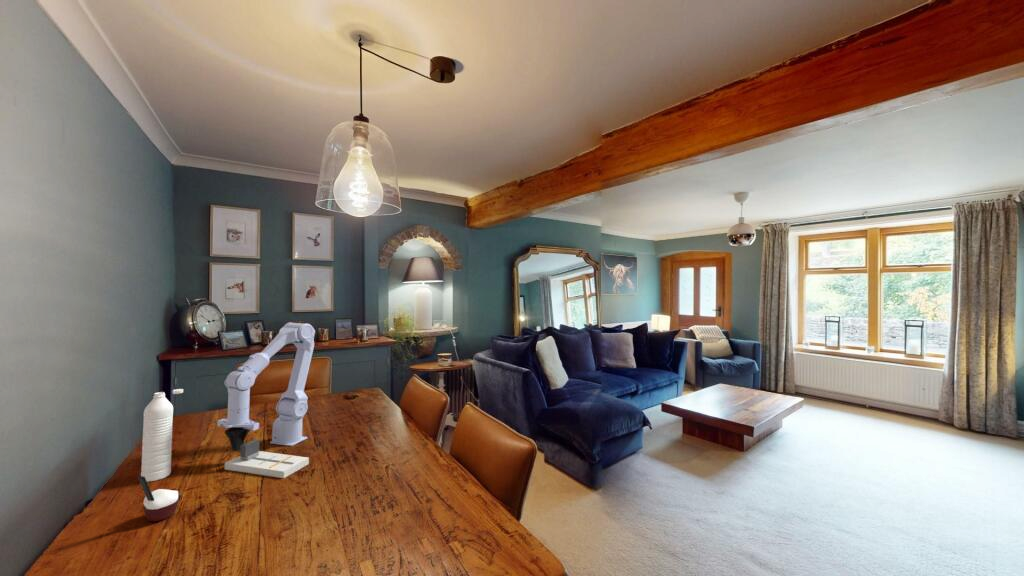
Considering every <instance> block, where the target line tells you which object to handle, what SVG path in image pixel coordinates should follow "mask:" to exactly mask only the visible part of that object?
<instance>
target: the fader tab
mask: <svg viewBox="0 0 1024 576" xmlns="http://www.w3.org/2000/svg"><path fill="white" fill-rule="evenodd" d="M239 451H240V452H239V454H240V455H239V456H240V459H243V460H250V459H252V458H254V457H256V456H258V455H259V451H260V440H259V439H253V440H250V441H247V442H244V443H243V445H241V447H240V450H239Z"/></svg>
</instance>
